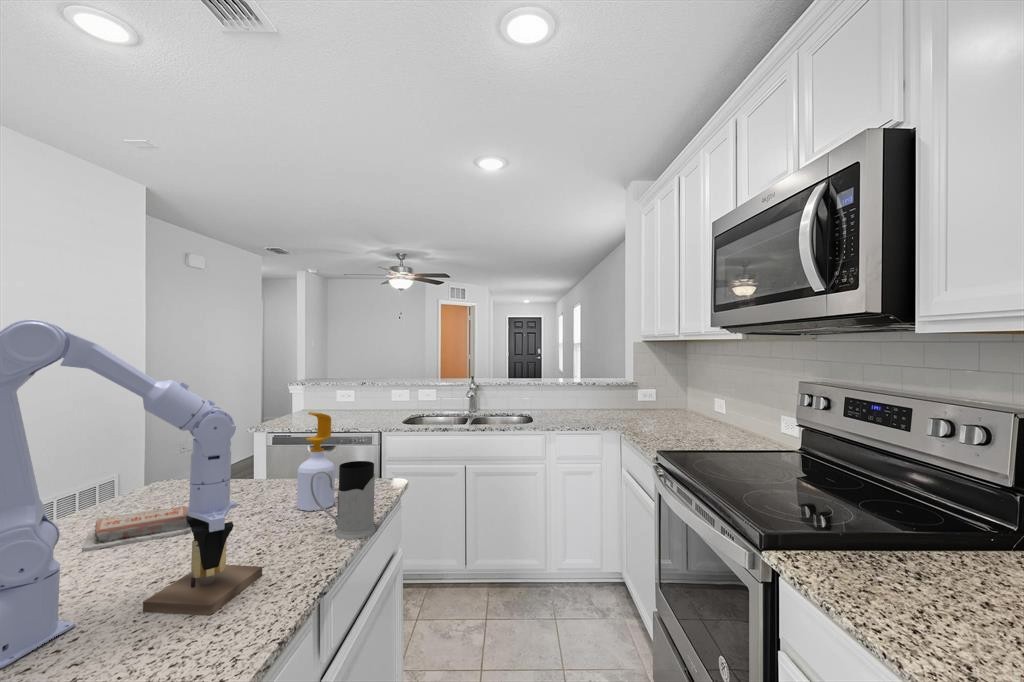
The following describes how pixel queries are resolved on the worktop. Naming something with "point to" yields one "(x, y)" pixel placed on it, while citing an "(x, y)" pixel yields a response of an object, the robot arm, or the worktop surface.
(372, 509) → the glass holder
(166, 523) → the packaged product
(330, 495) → the soap bottle
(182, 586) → the post base
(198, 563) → the wooden block ring
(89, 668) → the worktop surface
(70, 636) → the worktop surface
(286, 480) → the worktop surface
